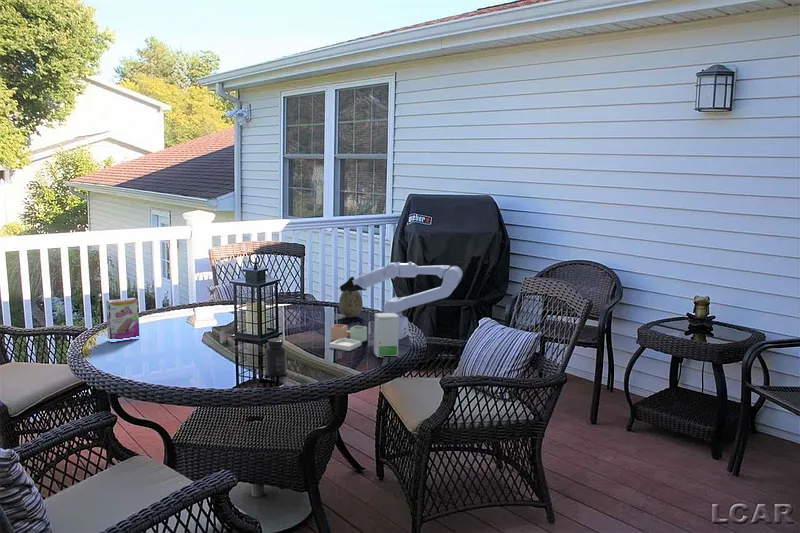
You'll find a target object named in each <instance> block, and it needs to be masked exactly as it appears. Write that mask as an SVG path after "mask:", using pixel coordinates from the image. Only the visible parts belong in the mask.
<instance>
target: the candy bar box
mask: <svg viewBox="0 0 800 533" xmlns="http://www.w3.org/2000/svg"><path fill="white" fill-rule="evenodd" d="M105 305H106V308H105V309H106V326H107V328H106V330H107V339H108V338H109V339H123V338H130V337H136V336H139V337H140V321H139V318H140V317H139V300H138V298H136V297H130V298H120V299H107V300H106V301H105Z"/></svg>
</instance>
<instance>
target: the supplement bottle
mask: <svg viewBox="0 0 800 533" xmlns="http://www.w3.org/2000/svg"><path fill="white" fill-rule="evenodd" d="M283 340H284V339H282V338H277V337H276V338H275V337H274V338H270V339H268V340H267V346H268V347H267V348H266V349H265V372H266V375H267V376H268V377H270V376H280V377H282V376H281V375H283V376H285V375H287V350H286V348H285V347H284V346H283V345H284V341H283ZM284 374H285V375H284Z"/></svg>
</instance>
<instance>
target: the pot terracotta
mask: <svg viewBox="0 0 800 533" xmlns="http://www.w3.org/2000/svg"><path fill="white" fill-rule="evenodd" d="M347 330H348V325H347V324H339V323H336V324H333V325H332V326H331V327H330V341H336V340H338V339H340V338H346V339H348V336H347Z"/></svg>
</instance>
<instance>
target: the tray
mask: <svg viewBox="0 0 800 533" xmlns="http://www.w3.org/2000/svg"><path fill="white" fill-rule="evenodd" d="M360 346H362V343H361V341H359V340H353V339H350V338H340V339H338V340H333V341H331V342H329V348H330V349H335V350H341V351H346V352H347V351H348V352H351V351H352V350H354V349H356V348H358V347H360Z"/></svg>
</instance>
